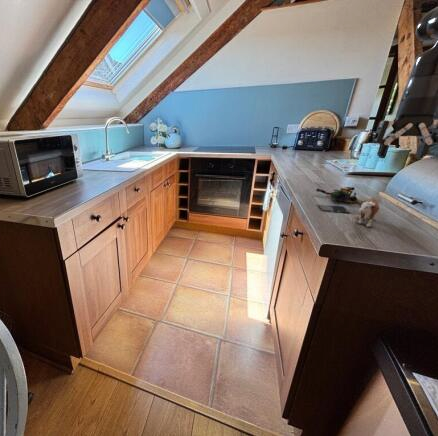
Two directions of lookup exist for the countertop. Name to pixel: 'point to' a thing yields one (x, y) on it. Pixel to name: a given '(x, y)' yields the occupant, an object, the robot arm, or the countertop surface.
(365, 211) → the bull figurine
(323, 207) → the slate coaster
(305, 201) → the countertop surface
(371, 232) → the countertop surface
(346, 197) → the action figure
